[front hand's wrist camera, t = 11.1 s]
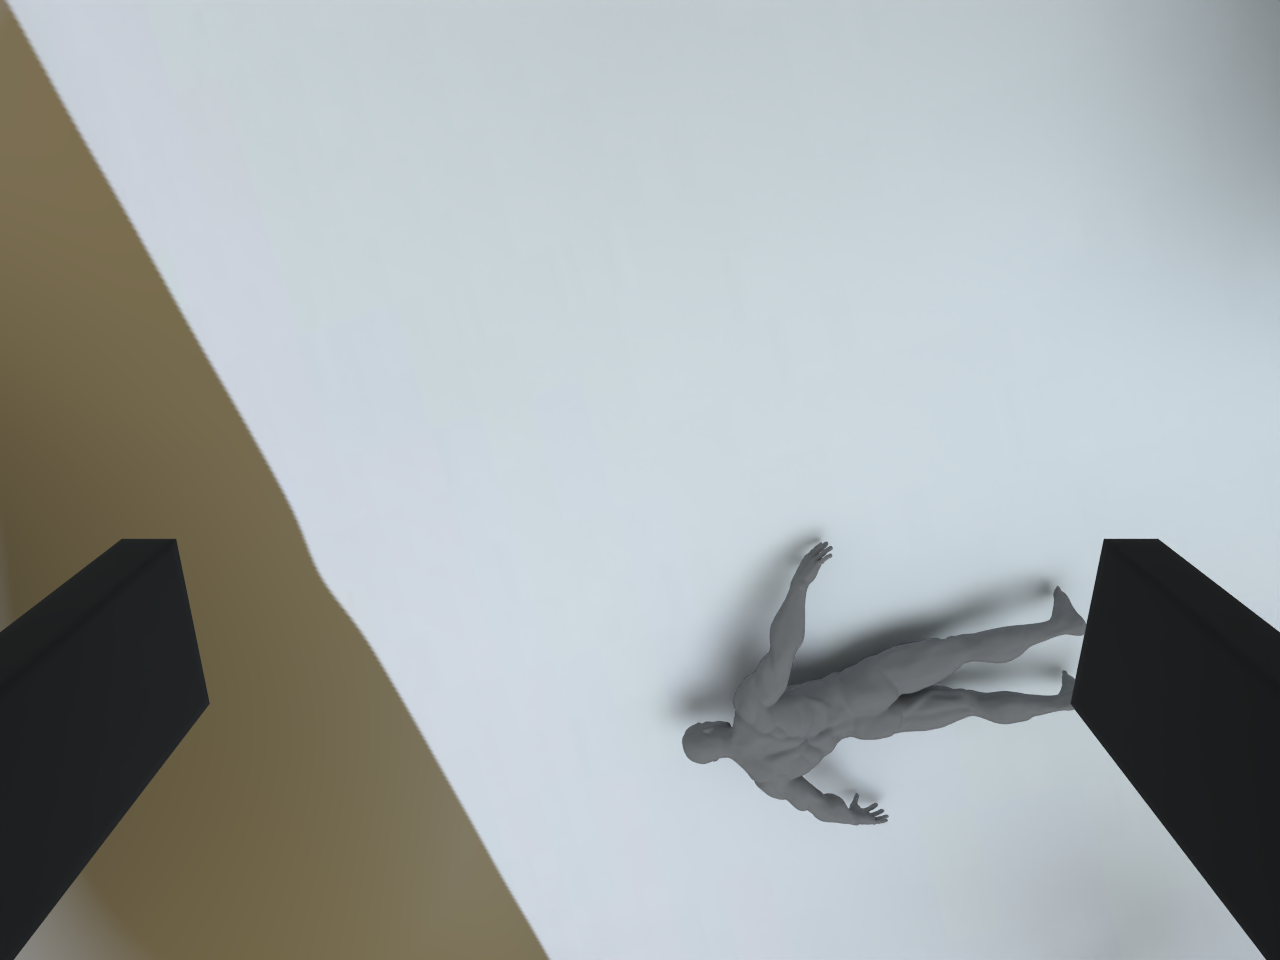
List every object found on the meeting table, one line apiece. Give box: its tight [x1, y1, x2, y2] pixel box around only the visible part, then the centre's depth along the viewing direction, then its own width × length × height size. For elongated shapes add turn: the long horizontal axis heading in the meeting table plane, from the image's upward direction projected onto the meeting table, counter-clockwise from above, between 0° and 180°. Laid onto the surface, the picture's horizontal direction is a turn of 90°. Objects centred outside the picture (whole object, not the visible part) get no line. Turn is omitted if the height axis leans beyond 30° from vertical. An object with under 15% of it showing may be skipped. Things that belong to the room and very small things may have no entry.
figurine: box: [682, 542, 1086, 825], centre depth 44 cm, size 17×4×20 cm
